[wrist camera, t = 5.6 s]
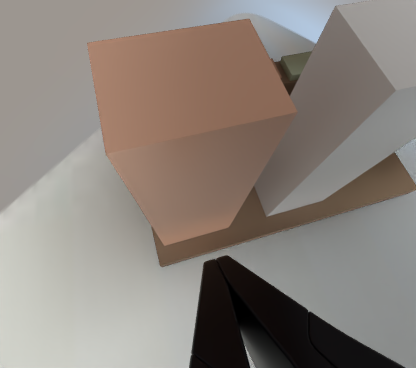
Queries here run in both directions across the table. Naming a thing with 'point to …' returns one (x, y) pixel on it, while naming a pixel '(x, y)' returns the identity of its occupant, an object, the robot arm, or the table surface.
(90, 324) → the table surface
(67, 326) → the table surface
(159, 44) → the salmon brown block
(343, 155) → the light grey tall block
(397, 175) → the keypad base
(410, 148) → the table surface
